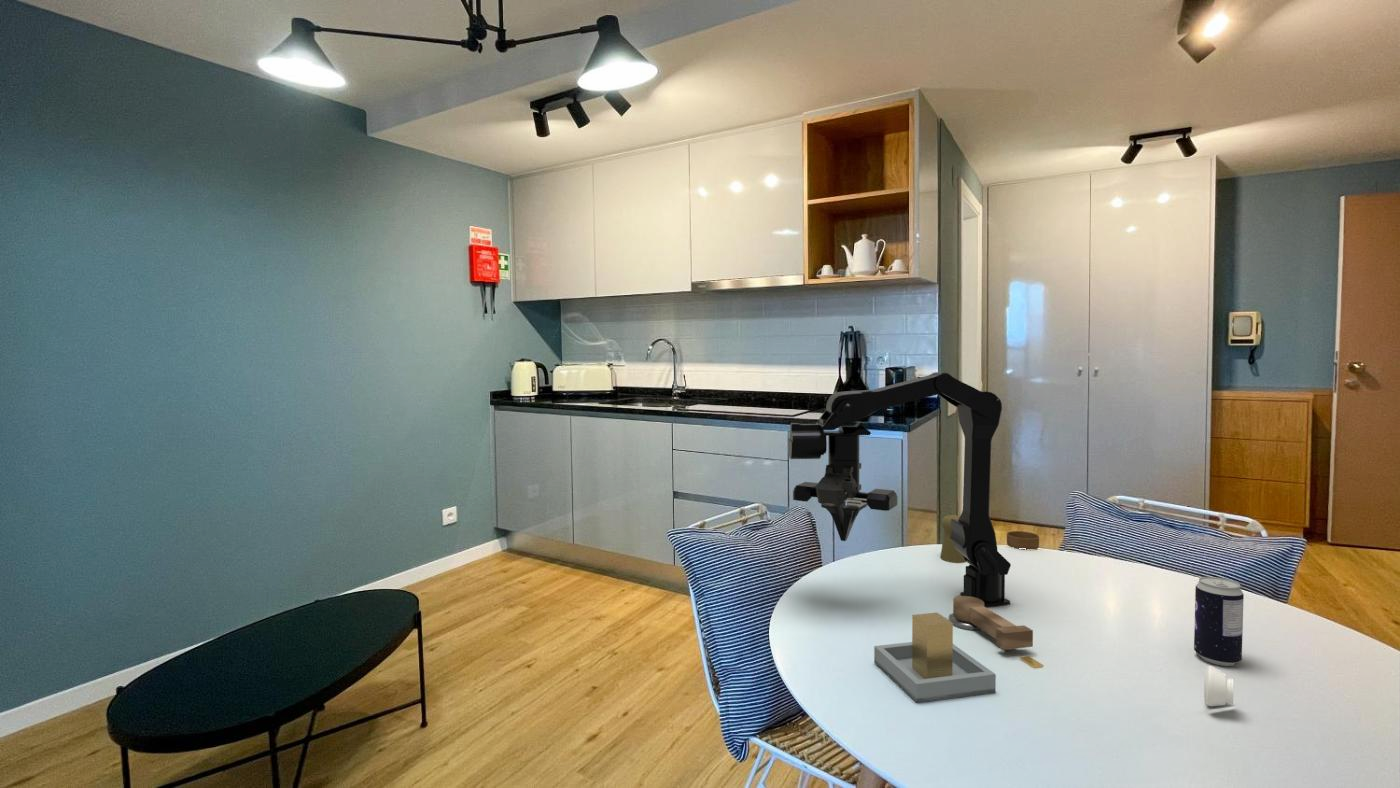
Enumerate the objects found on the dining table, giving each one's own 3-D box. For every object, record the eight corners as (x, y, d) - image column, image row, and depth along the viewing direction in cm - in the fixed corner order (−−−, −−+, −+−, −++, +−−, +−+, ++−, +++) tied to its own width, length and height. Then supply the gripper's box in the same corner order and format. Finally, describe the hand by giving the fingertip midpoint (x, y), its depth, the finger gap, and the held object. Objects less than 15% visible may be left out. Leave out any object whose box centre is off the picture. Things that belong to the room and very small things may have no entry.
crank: (947, 612, 115) (947, 597, 115) (972, 610, 116) (972, 594, 116) (1003, 650, 100) (1004, 632, 100) (1032, 647, 101) (1032, 629, 100)
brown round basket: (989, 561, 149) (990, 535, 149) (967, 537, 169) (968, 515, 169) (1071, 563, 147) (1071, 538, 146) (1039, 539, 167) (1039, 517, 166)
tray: (945, 654, 101) (945, 638, 101) (995, 692, 89) (995, 674, 89) (874, 662, 98) (874, 646, 98) (916, 703, 87) (916, 684, 87)
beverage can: (1231, 654, 100) (1233, 577, 99) (1248, 670, 95) (1251, 590, 94) (1187, 649, 102) (1189, 574, 101) (1202, 665, 97) (1204, 586, 96)
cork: (963, 560, 148) (964, 513, 148) (971, 568, 142) (972, 519, 142) (936, 559, 149) (936, 512, 149) (943, 568, 143) (944, 519, 143)
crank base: (973, 614, 117) (973, 610, 117) (1057, 665, 97) (1057, 660, 97) (941, 617, 115) (941, 613, 115) (1019, 669, 96) (1019, 665, 96)
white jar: (1204, 695, 88) (1205, 659, 88) (1232, 702, 86) (1233, 665, 86) (1203, 710, 84) (1204, 673, 84) (1232, 718, 82) (1233, 680, 82)
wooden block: (936, 665, 96) (937, 612, 96) (952, 678, 92) (952, 623, 92) (912, 668, 95) (912, 614, 95) (926, 681, 91) (927, 625, 91)
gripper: (780, 460, 120) (780, 543, 121) (879, 468, 110) (879, 559, 111) (804, 453, 129) (804, 530, 130) (898, 460, 119) (898, 543, 120)
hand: (843, 540), depth 123 cm, fingers closed
